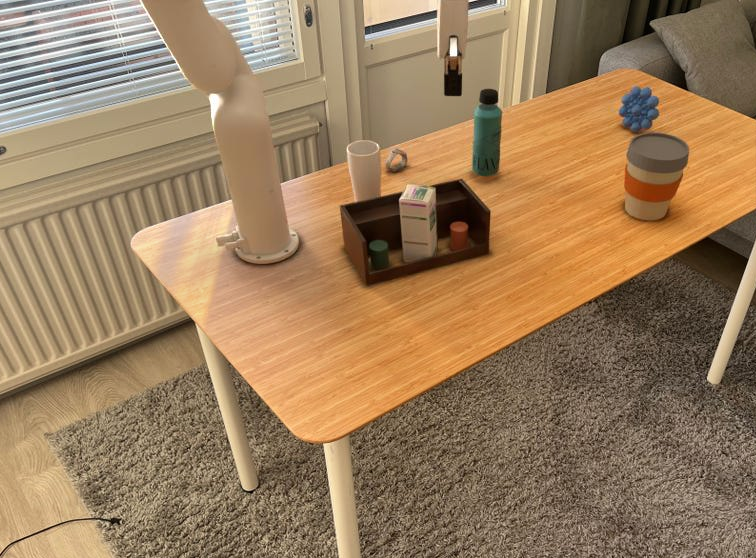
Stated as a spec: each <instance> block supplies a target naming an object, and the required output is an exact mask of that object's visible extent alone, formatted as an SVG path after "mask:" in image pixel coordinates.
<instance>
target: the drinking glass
mask: <svg viewBox="0 0 756 558" xmlns="http://www.w3.org/2000/svg"><path fill="white" fill-rule="evenodd" d="M346 158H347V159H346V160H347V168H348V172H349V173H348V174H349V178H350V182H351V188H352V192H353V197H354V202H358V201H362V200H367V199H371V198H376V197H380V196H382V156H381V147H380V145H379V144H378V143H377V142H375V141H372V140H366V139H365V140H355V141H353V142H351V143H348V145H347V147H346Z"/></svg>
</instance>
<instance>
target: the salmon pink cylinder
mask: <svg viewBox="0 0 756 558" xmlns="http://www.w3.org/2000/svg"><path fill="white" fill-rule="evenodd" d="M467 247H469V234H468V225H467V224H466V223H464V222H454V223H452V224H451V225H450V236H449V248H450V249H451V250H452V251H456V250H460V249H464V248H467Z"/></svg>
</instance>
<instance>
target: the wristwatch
mask: <svg viewBox="0 0 756 558" xmlns="http://www.w3.org/2000/svg"><path fill="white" fill-rule="evenodd" d="M397 155H400V156H401V162H400V163H399V165H394V166H393V167H392V166H391V163H392V162H393V161H394V159H395V157H396V156H397ZM407 164H408V155H407V153H406V152H405V151H403V150H401V149H398V148H396V147H394V148H392V149H391V150H390V152H389V154H388V156H387V158H386V159H385V161H384V166H385V169H386V170H388V171H389V172H391V173H397V172H399V171H401V170H403V169H404V168H406V167H407Z"/></svg>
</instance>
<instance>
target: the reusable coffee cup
mask: <svg viewBox="0 0 756 558" xmlns="http://www.w3.org/2000/svg"><path fill="white" fill-rule="evenodd" d="M689 157H690V147H689V145H688V143H687V142H686V141H685V140H683V139H682V138H680V137H678V136H676V135H672V134H669V133H664V132H663V133H662V132H655V131H654V132H653V131H652V132H642V133H640V134H639V133H638V134H637V135H634V136H633V137H632V138H631V140H630V141H629V145H628V148H627V151H626V159H627V163H626V164H625V168H624V182H623V183H624V184H623V187H624V190H625V198H624V199H625V201H624V210H625V212H626V213H627V214H628V215H630V216H631V217H633V218H635V219H637V220H642V221H657V220H661V219H662V218H664V217H665V216H666V214H667V212H668V209H669V207H670V204H671V202H672V199H673V198H674V197H676V195H677V192H678V190H679V187H680V186H681V182H682V180H683V177H684V170H685V169H686V167H687V166H688V163H689Z"/></svg>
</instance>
